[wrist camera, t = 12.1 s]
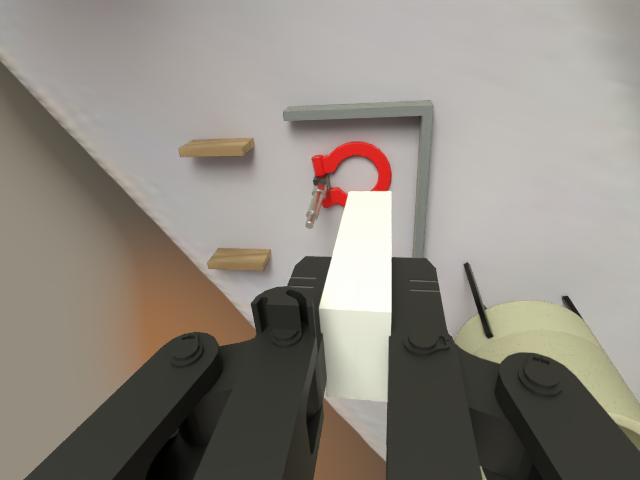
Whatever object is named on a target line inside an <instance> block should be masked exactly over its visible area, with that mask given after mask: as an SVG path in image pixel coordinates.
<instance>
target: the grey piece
mask: <svg viewBox="0 0 640 480" xmlns="http://www.w3.org/2000/svg"><path fill="white" fill-rule="evenodd" d="M402 116H420V134H419V152H418V170H417V188H416V206H415V224H414V241H413V258H423V245H424V231H425V217H426V203H427V189H428V174H429V160H430V146H431V132H432V118H433V104H432V102H431V100H428V101H406V102H384V103H362V104H341V105H319V106H297V107H288V108H287V109H286V110H285V111H283V118H284V121H300V120H325V119H351V118H376V117H402Z"/></svg>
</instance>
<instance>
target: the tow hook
mask: <svg viewBox="0 0 640 480" xmlns="http://www.w3.org/2000/svg"><path fill="white" fill-rule="evenodd" d="M354 155H359V156H364V157H367V158H368V159H370V160H371V161H372V162H373V163H374V164H375V165H376V167H377V169H378V173H379V177H378V181H377V184H376V186H375V187H374V188H373V189H372V190H371V191H388V188H389V186H390V183H391V169H390V164H389V162H388V160H387V158H386V156H385V155H384V154H383V153H382V152H381V150H380V149H378V148H376V147H375V146H373V145H372V144H368V143H365V142H350V143H345V144H343V145H341V146H339V147H337V148H336V149H335V150H334V151H333V152H332V153H331V154H330V155H327V156H323V155H316V156H314V157H312V162H313V166H314V171H315V177H314V180H313V183H314V188H313V191H312V195H313V198H312V200H311V203H310V206H309V209H308V212H307V218H308V219H307V222H306V227H307V228H309V229H311V228H312V227H313V225H314V222H315V220H317V218H318V215H319V211H320V208H321V204H322V206H323V207H324V208H328V207H331V206H332V205H333V204H340V205H342V206H345V205H346V201H347V197H348V194H346V193H345V192H343V191H342V190H341V189H340V188H331V189H330V183H329V178H328V173H331V172H334V171H335V170H336V167H337V166H338V164H339V163H340V162H341V161H342V160H343V159H345V158H347V157H349V156H354Z"/></svg>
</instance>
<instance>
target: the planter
mask: <svg viewBox="0 0 640 480" xmlns="http://www.w3.org/2000/svg"><path fill="white" fill-rule="evenodd" d="M464 267H465V271H466V274H467V277H468V280H469V284H470V287H471V290H472V293H473V297H474V300H475V303H476V307H477V310H478V314H477V315H475V316H474V317H473V318H471V319H470V320H469V321H468V322H467V323H466V324H465V325H464V326H463V327H462V328H461V329H460V331H459V332H458V334H457V336H456V338H455V340H454V343H455V344H457V345H458V346H459V347H460V348H461V349H463V350H465V351H466V352H468V353H470V354H472V355H474V356H477V357H480V358H483V359H486V360H489V361H492V362H496V363H499V364H501V362H502V361H503V360H504V359H505V358H506V357H507V356H508V355H512V354H515V353H518V352H528V353H537V354H540V355H544V356H547V357H550V358H552V359H554V360H556V361H557V362H559V363H561V364H563V365H565V366H566V367H567V368H568V369H569V370H570V371H571V372H572V373H573V374H575V375H576V376H577V378H578V379H579V380H580V381H581V382H582V384H583V385H584V386H585V387H586V388H587V389H588V391H589V392H590V393H591V394H592V395H593V397H594V398H595V399H596V400H597V401H598V402H599V404H600V405H601V406H602V407H603V408H604V410H605V411H606V412H607V413H608V414H609V415H610V417H611V418H612V419H613V420H614V421H615V423H616V424H617V425H618V426H619V427H620V428H621V430H622V431H623V432H624V433H625V434H626V436H627V437H628V438H629V439H630V440H631V442H632V443H633V444H634V445H635V446H636V447H637V449H638V450H639V451H640V404H639V402H638V401H637V399H636V398H635V396H634V395H633V393H632V392H631V390H630V389H629V387H628V386H627V384H626V383H625V381H624V380H623V378H622V377H621V375H620V373H619V372H618V370H617V369H616V367H615V366H614V364H613V363H612V361H611V360H610V358H609V357H608V355H607V354H606V352H605V351H604V349H603V348H602V346H601V345H600V343H599V342H598V340H597V339H596V337H595V336H594V334H593V333H592V331H591V330H590V328H589V327H588V325H587V324H586V323H585V321H584V320H583V318H582V317H581V315H580V314H579V312H578V311H577V309H576V308H575V306H574V305H573V303H572V302H571V300H570V299H569V297H568V296H563V298H562V300H563V302H564V303H565V305H566V306H567V308H568V309H567V308H564V307H562V306H559V305H556V304H553V303H549V302H543V301H533V300H524V301H513V302H507V303H503V304H499V305H496V306H493V307H491V308H488V309H487V308H486V306H485V305H484V304H483V302H482V299H481V296H480V293H479V290H478V287H477V284H476V281H475V278H474V275H473V272H472V269H471V266H470V264H469V263H468V262H467V263H465V264H464ZM480 468H481V473H482V478H483V480H487V479H486V477H485V475H484V473H483V470H482V467H481V466H480Z"/></svg>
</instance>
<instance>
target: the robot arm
mask: <svg viewBox="0 0 640 480" xmlns="http://www.w3.org/2000/svg"><path fill="white" fill-rule="evenodd" d="M251 307H252V312H253V317H254V322H255V327H256V333H257V334H256V336H255V338H253V339H251V340H248V341H244V342H240V343H235V344H230V345H225V346H219V345H218V343H217V341H216V339H215V338H214V337H213V336H211V335H209V334H207V333H200V332H193V333H188V334H183V335H181V336H179V337H176V338H174V339H172V340H171V341H169V342H168V343H167V344H166V345H164V346H163V347H162V348H160V350H158V351H157V352H156V353H155V354H154V355H153V356H152V357H151V358H150V359H149V360H148V361H147V362H146V363H145V364H144V365H143V366H142V367H141V368H140V369H139V370H138V371H137V372H135V373H134V374H133V375H132V376H131V377H130V378H129V379H128V380H127V381H126V382H125V383H124V384H123V385H122V386H121V387H120V388H119V389H118V390H117V391H116V392H115V393H114V394H113V395H111V396H110V397H109V398H108V399H107V400H106V401H105V402H104V403H103V404H102V405H101V406H100V407H99V408H98V409H97V410H96V411H95V412H94V413H93V414H92V415H91V416H90V417H89V418H87V420H85V422H83V423H82V424H81V425H80V426H79V427H78V428H77V429H76V430H75V431H74V432H73V433H72V434H71V435H70V436H69V437H68V438H67V439H66V440H65V441H63V443H61V444H60V445H59V446H58V447H57V448H56V449H55V450H54V451H53V452H52V453H51V454H50V455H49V456H48V457H47V458H46V459H45V460H44V461H43V462H42V463H41V464H40V465H39V466H37V467H36V468H35V469H34V470H33V471H32V472H31V473H30V474H29V475H28V476H27V477H26V478H25V479H24V480H313V478H314V472H315V466H316V460H317V454H318V448H319V442H320V437H321V431H322V424H323V419H324V413H323V397H324V391H325V386H326V395H327V397H338V398H349V399H360V400H371V401H381V402H387V441H386V445H387V454H386V480H483V478H482V473H481V468H480V466H481V467H482V470H483V473H484V475H485V477H486V479H487V480H640V451H639V450H638V449H637V447H636V446H635V445H634V444H633V443H632V442H631V440H630V439H629V438H628V437H627V436H626V434H625V433H624V432H623V431H622V430H621V428H620V427H619V426H618V425H617V424H616V423H615V421H614V420H613V419H612V418H611V417H610V415H609V414H608V413H607V412H606V411H605V410H604V408H603V407H602V406H601V405H600V404H599V402H598V401H597V400H596V399H595V398H594V397H593V395H592V394H591V393H590V392H589V391H588V389H587V388H586V387H585V386H584V385H583V384H582V382H581V381H580V380H579V379H578V378H577V376H576V375H575V374H573V373H572V372H571V371H570V370H569V369H568V368H567V367H566V366H565V365H563V364H561V363H559V362H557V361H556V360H554V359H552V358H550V357H547V356H544V355H540V354H537V353H528V352H518V353H515V354H512V355H508V356H507V357H506V358H505V359H504V360H503V361H502V362H501V364H499V363H496V362H492V361H489V360H486V359H483V358H480V357H477V356H474V355H472V354H470V353H468V352H466V351H465V350H463V349H461V348H460V347H459V346H458V345H457V344H455V343H454V340H453V338H452V337H451V336H450V335H449V334H448V331H447V327H446V322H445V316H444V311H443V306H442V300H441V295H440V289H439V284H438V278H437V273H436V268H435V267H434V266H433V265H432V264H431V263H430V262H429V261H428V260H427V259H426V258H396V257H391V191H349V193H348V197H347V201H346V205H345V209H344V213H343V217H342V220H341V224H340V228H339V232H338V236H337V240H336V244H335V248H334V251H333V255H332V257H314V256H306V257H304V258H303V259H302V260H301V261H300V262H299V263H298V264H296V265H295V268H294V270H293V273H292V275H291V278H290V280H289V283H288V286H284V287H276V288H273V289H269V290H266V291H264V292H263V293H261V294H260V295H258V296H257V297H256V298H255V299H254V300H253V301H252V303H251Z"/></svg>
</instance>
